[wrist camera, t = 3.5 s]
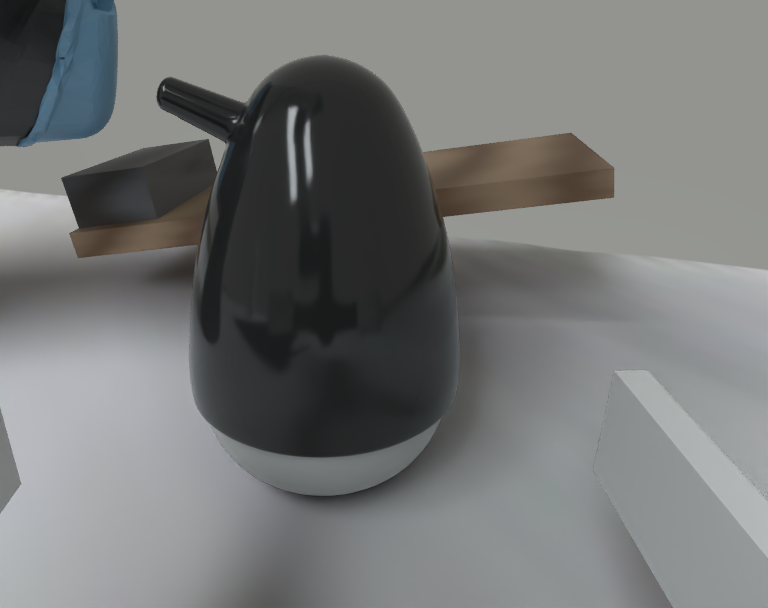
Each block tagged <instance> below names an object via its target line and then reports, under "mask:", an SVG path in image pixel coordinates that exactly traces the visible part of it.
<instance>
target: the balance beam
mask: <svg viewBox="0 0 768 608" xmlns="http://www.w3.org/2000/svg"><path fill="white" fill-rule="evenodd" d="M423 154H424V157H425V160H426V163H427V166H428V169H429V172H430V175H431V178H432V181H433V184H434V187H435V191H436V194H437V198H438V201H439V205H440V208H441V212H442V216H443V217H445V216H454V215H463V214H472V213H480V212H489V211H498V210H507V209H516V208H525V207H534V206H543V205H551V204H561V203H570V202H579V201H587V200H596V199H605V198H613V197H614V167H612V166H611V165H610V164H609V163H607V162H606V161H605V160H604V159H602V158H601V157H600V156H599V155H598V154H596V153H595V152H594V151H593V150H592V149H590V148H589V147H588V146H587V145H585V144H584V143H583V142H582V141H580V140H579V139H578V138H577V137H576V136H574V135H573V134H572V133H566V134H559V135H551V136H543V137H535V138H528V139H520V140H513V141H505V142H497V143H489V144H482V145H475V146H467V147H459V148H451V149H443V150H436V151H428V152H423ZM216 174H217V170H216V167H215V163H214V159H213V155H212V151H211V147H210V143H209V139H206V140H198V141H192V142H184V143H177V144H170V145H163V146H156V147H150V148H143V149H140V150H137V151H135V152H132V153H129V154H126V155H123V156H121V157H118V158H115V159H113V160H110V161H107V162H104V163H101V164H99V165H96V166H93V167H90V168H87V169H85V170H82V171H79V172H76V173H74V174H71V175H68V176H65V177H63V178H61V179H62V182H63V184H64V187H65V190H66V193H67V196H68V198H69V201H70V204H71V207H72V210H73V213H74V215H75V218H76V221H77V224H78V227H79V229H77V230H75V231H73V232H71V233H69V234H70V237H71V240H72V242H73V245H74V248H75V250H76V253H77V256H78V258H83V257H92V256H100V255H109V254H118V253H127V252H136V251H145V250H154V249H162V248H171V247H180V246H189V245H198V243H199V238H200V233H201V228H202V224H203V219H204V215H205V211H206V207H207V203H208V199H209V196H210V192H211V189H212V186H213V183H214V180H215V177H216Z"/></svg>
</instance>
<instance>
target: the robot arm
mask: <svg viewBox="0 0 768 608" xmlns="http://www.w3.org/2000/svg"><path fill="white" fill-rule="evenodd" d="M117 32H118V31H117V12H116V6H115V3H114V0H0V146H18V147H27V146H31V145H33V144H35V143H37V142H48V141H59V140H70V139H80V138H86V137H89V136H92V135H94V134H96V133H98V132H99V131H101V130H102V129H103V128H104V127H105V126H106V124H107V123H108V122H109V120H110V118H111V115H112V112H113V109H114V104H115V97H116V87H117V64H118V63H117V62H118V33H117ZM593 471H594V473H595V475H596V477H597V478H598V480H599V482H600V483H601V485H602V487H603V489H604V490H605V492H606V494H607V495H608V497H609V499H610V501H611V502H612V504H613V506H614V507H615V509H616V511H617V513H618V514H619V516H620V518H621V520H622V521H623V523H624V525H625V526H626V528H627V530H628V532H629V533H630V535H631V537H632V538H633V540H634V542H635V544H636V545H637V547H638V549H639V550H640V552H641V554H642V556H643V557H644V559H645V561H646V562H647V564H648V566H649V568H650V569H651V571H652V573H653V575H654V576H655V578H656V580H657V581H658V583H659V585H660V587H661V588H662V590H663V592H664V593H665V595H666V597H667V599H668V600H669V602H670V604H671V605H672V607H673V608H768V501H767V499H766V498H765V497H764V496H763V495H762V494H761V493H760V492H759V491H758V490H757V489H756V487H755V486H754V485H753V484H752V483H751V482H750V481H749V480H748V479H747V478H746V477H745V476H744V474H743V473H742V472H741V471H740V470H739V469H738V468H737V467H736V466H735V465H734V464H733V462H732V461H731V460H730V459H729V458H728V457H727V456H726V455H725V454H724V453H723V452H722V450H721V449H720V448H719V447H718V446H717V445H716V444H715V443H714V442H713V441H712V440H711V438H710V437H709V436H708V435H707V434H706V433H705V432H704V431H703V430H702V429H701V428H700V426H699V425H698V424H697V423H696V422H695V421H694V420H693V419H692V418H691V417H690V416H689V415H688V413H687V412H686V411H685V410H684V409H683V408H682V407H681V406H680V405H679V404H678V403H677V401H676V400H675V399H674V398H673V397H672V396H671V395H670V394H669V393H668V392H667V391H666V389H665V388H664V387H663V386H662V385H661V384H660V383H659V382H658V381H657V380H656V379H655V377H654V376H653V375H652V374H651V373H650V372H649V371H648V370H614V374H613V379H612V383H611V388H610V393H609V397H608V402H607V407H606V412H605V416H604V421H603V426H602V430H601V435H600V440H599V444H598V449H597V454H596V458H595V463H594V468H593ZM20 485H21V481H20V478H19V474H18V471H17V467H16V463H15V460H14V456H13V453H12V449H11V445H10V442H9V438H8V434H7V431H6V427H5V424H4V420H3V416H2V413H1V409H0V513H1V512H2V510H3V509H4V508H5V506H6V505H7V503H8V502H9V500H10V499H11V498H12V496H13V495H14V493H15V492H16V490H17V489H18V488H19V486H20Z"/></svg>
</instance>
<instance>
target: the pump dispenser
mask: <svg viewBox="0 0 768 608" xmlns="http://www.w3.org/2000/svg"><path fill="white" fill-rule="evenodd" d="M157 102H158V105H159V107H160V108H161V109H163V110H165V111H167V112H169V113H171V114H173V115H175V116H177V117H179V118H180V119H182V120H184V121H186V122H188V123H190V124H192V125H194V126H196V127H197V128H199V129H201V130H203V131H205V132H207V133H209V134H211V135H213V136H215V137H217V138H218V139H220V140H222V141H224V142H225V143H226V148H225V152H224V155H223V158H222V161H221V164H220V166H219V169H218V172H217V174H216V177H215V180H214V183H213V186H212V189H211V192H210V196H209V199H208V203H207V207H206V211H205V215H204V219H203V224H202V228H201V233H200V238H199V243H198V249H197V255H196V261H195V268H194V276H193V285H192V297H191V312H190V337H189V366H190V379H191V387H192V393H193V397H194V401H195V404H196V406H197V408H198V410H199V411H200V413H201V414H202V416H203V417H204V418H205V419H206V420H207V421H208V423H210V424H211V427H212V429H213V431H214V433H215V435H216V437H217V438H218V440H219V441H220V443H221V445H222V446H223V448H224V449H225V450H226V451H227V453H228V454H229V455H230V456H231V457H232V458H233V460H234V461H235V462H236V463H238V464H239V465H240V466H241V467H242V468H243V469H244V470H246V471H247V472H248V473H250V474H251V475H253V476H254V477H256V478H258V479H259V480H261V481H263V482H265V483H267V484H269V485H272V486H274V487H276V488H279V489H282V490H285V491H289V492H293V493H299V494H304V495H314V496H332V495H342V494H348V493H353V492H357V491H361V490H364V489H367V488H370V487H373V486H375V485H378V484H380V483H382V482H384V481H386V480H388V479H390V478H391V477H393V476H395V475H396V474H398V473H399V472H400V471H402V470H403V469H404V468H406V467H407V466H408V465H409V464H410V463H411V462H412V461H413V460H414V459H415V458H416V457H417V456H418V455H419V454H420V453H421V452H422V450H423V449H424V448H425V447H426V445H427V444H428V442H429V441H430V439H431V438H432V436H433V434H434V433H435V431H436V429H437V427H438V425H439V422H440V420H441V417H442V416H443V415H444V414H445V413H446V412H447V410H448V409H449V407H450V406H451V404H452V402H453V400H454V398H455V395H456V391H457V386H458V377H459V362H460V345H459V324H458V308H457V295H456V286H455V277H454V270H453V263H452V258H451V252H450V247H449V242H448V237H447V232H446V228H445V224H444V220H443V216H442V212H441V208H440V205H439V201H438V198H437V194H436V191H435V187H434V184H433V181H432V178H431V175H430V172H429V169H428V166H427V163H426V160H425V157H424V154H423V152H422V149H421V147H420V144H419V141H418V139H417V137H416V134H415V132H414V130H413V128H412V126H411V123H410V121H409V119H408V117H407V115H406V113H405V111H404V110H403V108H402V106H401V104H400V102H399V101H398V99H397V97H396V96H395V95H394V93H393V92H392V90H391V89H390V88H389V87H388V85H387V84H386V83H385V82H384V81H383V80H382V79H380V78H379V77H378V76H376V75H375V74H374V73H373V72H371V71H370V70H368V69H367V68H365V67H363V66H361V65H359V64H357V63H355V62H352V61H350V60H347V59H343V58H339V57H334V56H329V55H317V56H310V57H305V58H301V59H297V60H294V61H292V62H289V63H287V64H285V65H283V66H281V67H279V68H278V69H276V70H274V71H273V72H272V73H270V74H269V75H268V76H267V77H266V78H265V79H264V80H263V81H262V82H261V83H260V84H259V85H258V87H257V88H256V89H255V90H254V92H253V93H252V95H251V96H250V98H249V99H248V101H247V102H245V103H243V102H240V101H237V100H234V99H231V98H228V97H226V96H223V95H220V94H217V93H214V92H212V91H209V90H206V89H203V88H201V87H198V86H195V85H192V84H190V83H187V82H184V81H181V80H179V79H176V78H173V77H167V78H165V79H164V80H163V81H162V82H161V84H160V85H159V87H158V91H157Z"/></svg>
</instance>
